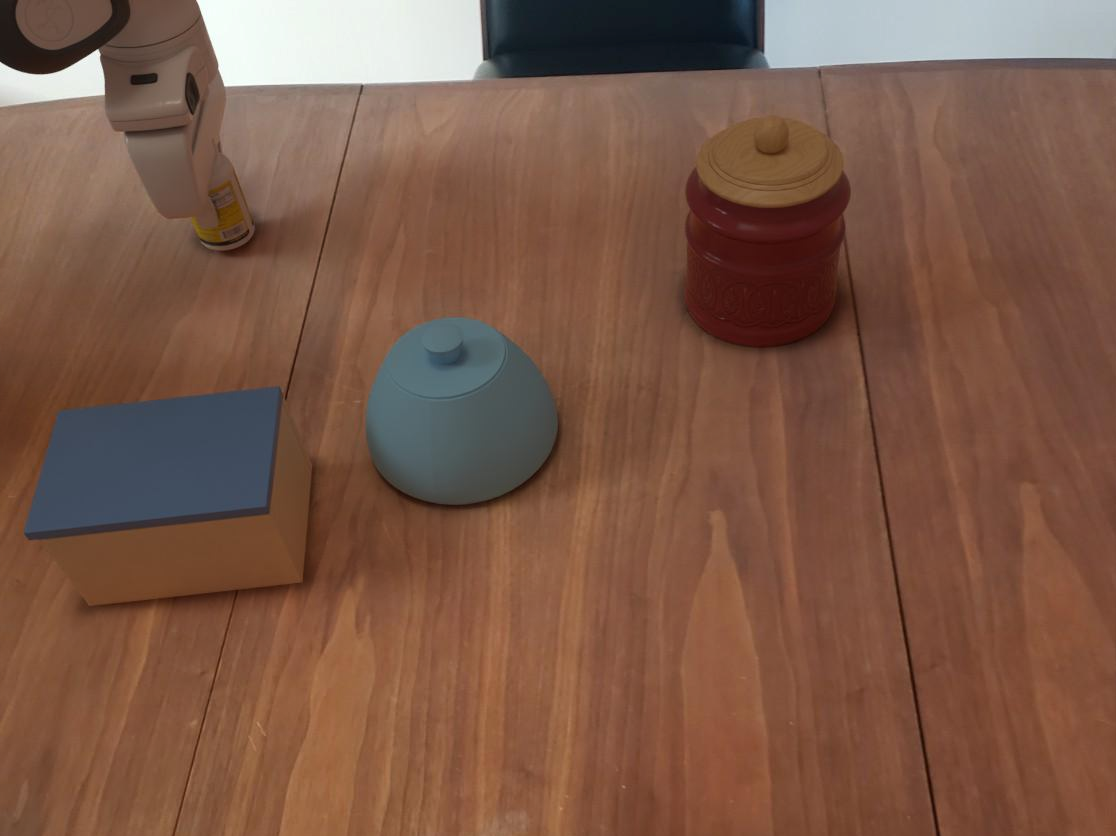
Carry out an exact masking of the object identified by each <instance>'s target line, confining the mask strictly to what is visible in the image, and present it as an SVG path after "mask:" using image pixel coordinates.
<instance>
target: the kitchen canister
mask: <svg viewBox="0 0 1116 836" xmlns="http://www.w3.org/2000/svg"><path fill="white" fill-rule="evenodd" d="M844 164H845V162H844V156H843V152H842V151H841V149H840V147H839V145H837V143H836V142H835V141H834V140H833V139H832V138H830V137H829V136H828V135H826V134H825V133H824V132H821V131H820V130H818V129H816V128H814V127H812V126H811V125H809V124H807V123H805V122H802V121H799V120H797V119H792V118H788V117H787V118H786V117H781V116H779V115H773V114H771V115H766V116H762V117H755V118H750V119H746V120H743V121H740V122H738V123H735V124H733V125H731V126H729V127H726V128H724V129H722V130H721V131H719V132H717V133H715V134H714V135H712V136H711V137H710V138H708V140H706V141H705V143H703V145H702V146H701V148H700V149H699V151H698V153H697V155H696V162H695V167H694V168H693V169H692V171H691V172H690V174H689V176H688V178H687V180H686V183H685V189H684V195H685V199H686V200H685V201H686V204H687V207H688V208H689V211H688V213H687V215H686V218H685V222H684V234H685V237H686V277H685V279H684V280H685V281H684V301H685V306H686V308H687V312H688V313H689V315H690V316H691V318H692V319H693V321H694V322H695V323H696V324H697V326H699V328H701V329H702V330H703V331H705V332H706V333H708V334H709V335H711V336H713V337H715V338H716V339H719V340H721V341H724V342H727V343H730V344H733V345H737V346H744V347H750V348H751V347H753V348H767V347H768V348H769V347H776V346H778V347H779V346H783V345H787V344H791V343H794V342H798V341H801V339H804V338H807V337H808V336H810V335H812V334H813V333H815V332H816V331H817V330H819V329H820V328H821V327H822V326H823V325H824V324H825V323H826V321H827V320H828V318H829V317H830V315H831V314H832V312H833V310H834V307H835V304H836V296H837V290H838V286H837V276H838V270H839V269H838V268H839V263H840V262H839V261H840V255H841V248H842V244H843V242H844V239H845V235H846V219H845V217H844V213H845V211H846V209H847V208H848V206H849V203H850V201H851V195H852V187H851V183H850V180H849V177H848V175H847V173H846V171H844V167H845V165H844Z"/></svg>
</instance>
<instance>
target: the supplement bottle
mask: <svg viewBox="0 0 1116 836" xmlns="http://www.w3.org/2000/svg"><path fill="white" fill-rule="evenodd" d="M212 144H213V147H214V150H215V160H214V165H213V170H212V175H211V180H210V185H209V193H208V196H209V197H210V199H211V201H215V202H216V204H217V207H218V211H219V212H220V219H219V225H218V226H217V227H215V228H205V229H204V228H202V227H200V226H199V224H198V221H197V219H196V217H189V218H190V221H191V223H192V226H193V228H194V231H195V233H196V235H197V237H198V240H199V241H200V243H201V244H202V245H203V246H204V247H205V248H207V249H209V250H213V251H230V250H233V249H237V248H239V247H241V246H244V245H245V244H246V243H247V242H249V241H250V240H251V239H252V238H253V235H254V234H255V231H256V225H255V222H254V220H253V216H252V214H251V211H250V209H249V206H248V202H247V201H246V197H245V195H244V192H243V189H242V186H241V183H240V181H239V179H238V176H237V173H236V170H235V168H234V165H233V163H232V161H231V159H230V158H229V157H228V156H227V155H225V154H224V153H223V154H222V153H219V151H218V147H217V145H216V142H215V140H214V137H213V140H212Z"/></svg>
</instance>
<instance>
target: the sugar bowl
mask: <svg viewBox="0 0 1116 836" xmlns="http://www.w3.org/2000/svg"><path fill="white" fill-rule="evenodd" d="M558 417H559V416H558V411H557V407H556V402H555V399H554V396H553V393H552V391H551V389H550V386H549V384H548V382H547V380H546V378H545V377H544V374H543V373H542V371H541V370H540V369H539V367H538V365H536V363H535V362H534V361H533V359H532V358H531V357H530V356H529V355H528V353H526V352H525V351H524V350H523V349H522V348H521V347H520V346H518V344H517V343H516V342H514V341H513V340H511V338H509V337H508V336H506V335H505V333H502V331H500V330H498V329H497V328H495V327H494V326H492V325H490V324H488V323H486V322H484V321H481V320H478V319H473V318H468V317H459V316H457V317H456V316H455V317H454V316H453V317H441V318H436V319H432V320H429V321H426V322H424V323H421V324H418V325H417V326H415V327H413V328H411V329H410V330H408V331H407V332H405V333H404V334H403V335H402V336H400V337H399V339H398V340H396V342H395V343H394V344H393V345H392V346H391V348H390V350H389V351H388V352H387V354H386V356H385V357H384V359H383V361H382V363H381V365H380V367H379V369H378V371H377V373H376V376H375V378H374V381H373V383H372V386H371V388H370V391H369V394H368V400H367V405H366V412H365V434H366V435H365V436H366V443H367V447H368V451H369V454H370V457H371V460H372V463H373V465H374V467H375V468H376V470H377V471H378V473H379V474H380V475H381V476H382V477H383V479H385V480H386V481H387V482H388V483H389V484H390V485H392V486H393V487H394V488H395V489H397V490H398V491H399V492H402V493H404V494H405V495H407V496H410V497H412V498H415V499H417V500H421V501H424V502H429V503H431V504H438V505H449V506H462V505H471V504H472V505H473V504H479V503H482V502H486V501H490V500H493V499H495V498H499V497H501V496H503V495H506V494H507V493H509V492H512V491H514V490H515V489H516V488H519V487H520V486H521V485H522V484H524V483H525V482H527V481H528V480H529V479H531V477H532V476H533V475H535V474H536V473H537V471H539V469H540V468H541V467H542V466H543V465H544V463H545V462H546V460H547V459H548V458H549V456H550V454H551V452H552V450H553V447H554V444H555V442H556V439H557V436H558V429H559V418H558Z"/></svg>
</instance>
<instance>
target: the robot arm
mask: <svg viewBox="0 0 1116 836" xmlns="http://www.w3.org/2000/svg"><path fill="white" fill-rule="evenodd" d="M96 51H98V52H99V55H100V56H99V62H100V64H101V68H102V73H103V80H104V113H105V115H106V118H107V120H108V123H109V125H110V127H111V129H112V130H113V131H114V132H115V133H118V132H119V133H121V132H122V133H123V137H124V143H125V147H126V150H127V153H128V155H129V158H130V160H131V162H132V164H133V167H134V169H135V171H136V174H137V176H138V177H139V179H140V182H141V184H142V185H143V188H144V190H145V192H146V194H147V195H148V198H149V199H150V202H151V203H152V205H153V207H154V208H155V210H156V212H157V213H158V214H160V215H161V216H162V217H163V218H165V219H167V220H178V219H179V220H180V219H189V218H190V217H196V219H197V221H198V224H199V226H200V227H202V228H204V229H205V228H215V227H217V226H218V225H219V219H220V212H219V211H218V207H217V204H216V202H215V201H211V199H210V197H209V196H208V193H209V185H210V180H211V175H212V170H213V165H214V160H215V150H214V147H213V144H212V140H213V137H214V140H215V142H216V145H217V147H218V151H219V153H222V154H224V153H223V146H222V139H221V134H220V133H221V129H222V126H223V125H222V124H223V119H224V115H225V110H226V106H227V105H226V104H227V91H226V87H225V83H224V80H223V77H222V75H221V72H220V69H219V68H220V67H219V66H220V65H219V60H218V58H217V55H216V51H215V49H214V46H213V43H212V41H211V37H210V34H209V31H208V28H207V25H206V23H205V19H204V16H203V13H202V10H201V8H200V5H199V3H198V1H197V0H0V63H1V64H3V65H4V66H6V67H8V68H10V69H12V70H15V71H17V72H19V73H23V74H28V75H39V76H41V75H51V74H56V73H58V72H62V71H64V70H66V69H68V68H70V67H72V66H74V65H76V64H77V63H78V62H80V61H82V60H84V59H85V58H86V57H89V56H90V55H91V54H93V53H95V52H96Z"/></svg>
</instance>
